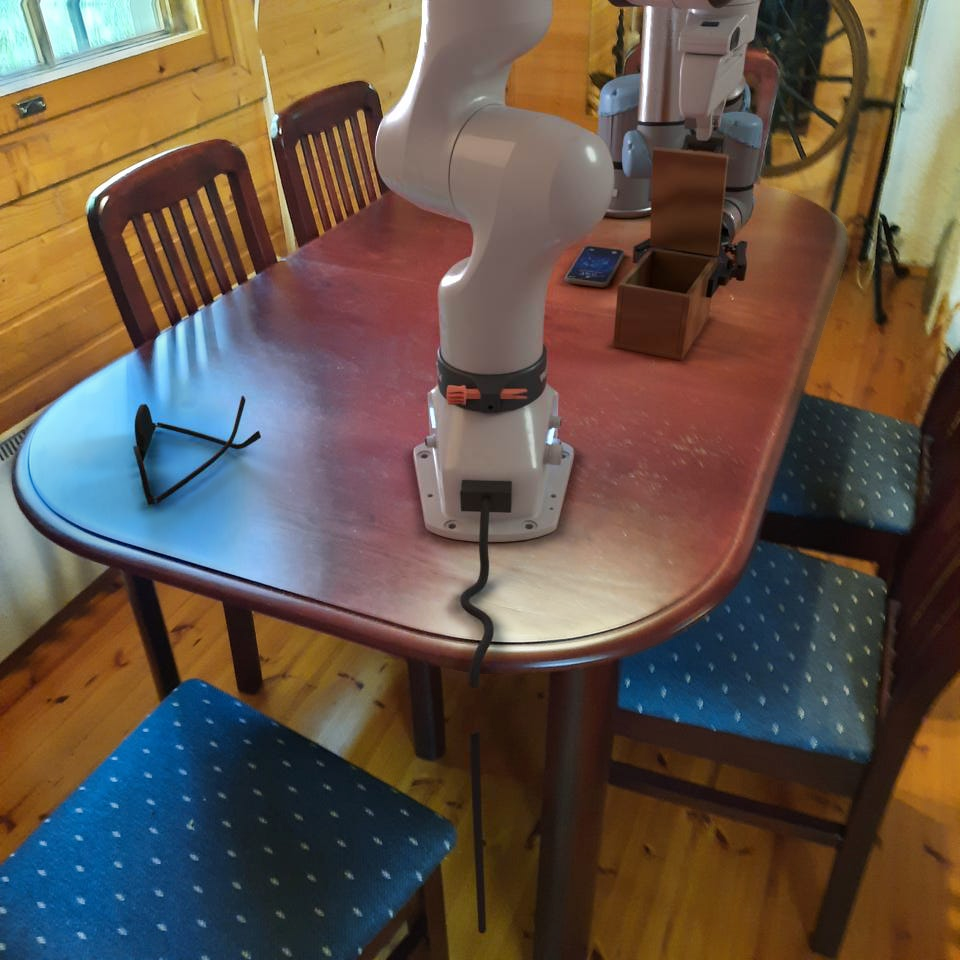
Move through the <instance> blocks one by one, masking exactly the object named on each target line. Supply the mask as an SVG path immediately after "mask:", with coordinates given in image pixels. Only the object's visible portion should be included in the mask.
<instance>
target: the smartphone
mask: <svg viewBox="0 0 960 960" xmlns="http://www.w3.org/2000/svg"><path fill="white" fill-rule="evenodd" d="M624 256H625V252H624V250H622V249H619V248H618V249H616V248H609V247H600V246H592V245H586V246H584V247H583V249H581V251H580V253H579V255H578V256H577V257H576V259H575V261H574V262H573V264H572V265H571V267H569V270H568V271H567V273H566V275H565V276H564V282H566V283H567V284H573V285H581V286H588V287H594V288H595V287H596V288H607V287H608V286H609V284H610V283H611V282H612V279H613V277H614V276H615V274H616V272H617V270H618V268H619V266H620V264H621V262H622V260H623V258H624Z"/></svg>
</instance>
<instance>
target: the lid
mask: <svg viewBox="0 0 960 960" xmlns="http://www.w3.org/2000/svg"><path fill="white" fill-rule="evenodd" d="M725 146H726V138H718V137H710V138H709V140H707V141H702V140H698V139H697V137H696V135H689V134H687V135H686V136H685V139H684V145H683V146H682V148H681V150H680V149H671V148H662V147H654V149H653V164H652V196H651V215H650V229H649V230H650V231H649V233H650V235H649V238H650V246H655V247H661V248H668V249H674V250H680V251H687V252H693V253H700V254H706V255H713V256H717V255H718V253H719V246H720V236H721V226H722V216H723V206H724V196H725V186H726V177H727V167H728V157H729V155H725V154H720V153H723V152H724V150H725ZM688 149H689V150H698V151H708V152H713V153H707V152H698V151H689V150H688Z"/></svg>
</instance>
